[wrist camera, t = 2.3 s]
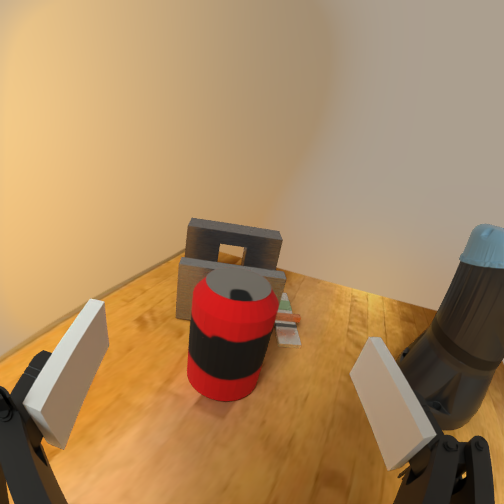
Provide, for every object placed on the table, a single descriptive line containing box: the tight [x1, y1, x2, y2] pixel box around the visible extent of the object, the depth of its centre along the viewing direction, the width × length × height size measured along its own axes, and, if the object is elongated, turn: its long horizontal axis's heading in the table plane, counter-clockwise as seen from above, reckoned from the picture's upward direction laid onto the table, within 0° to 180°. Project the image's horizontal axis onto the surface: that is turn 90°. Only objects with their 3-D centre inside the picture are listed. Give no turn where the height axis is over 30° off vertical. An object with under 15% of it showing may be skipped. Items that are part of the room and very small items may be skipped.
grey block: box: [176, 257, 301, 323], centre depth 39 cm, size 17×7×8 cm, turn 93°
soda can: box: [187, 267, 279, 401], centre depth 27 cm, size 8×8×12 cm
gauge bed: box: [185, 218, 301, 348], centre depth 40 cm, size 17×16×10 cm
